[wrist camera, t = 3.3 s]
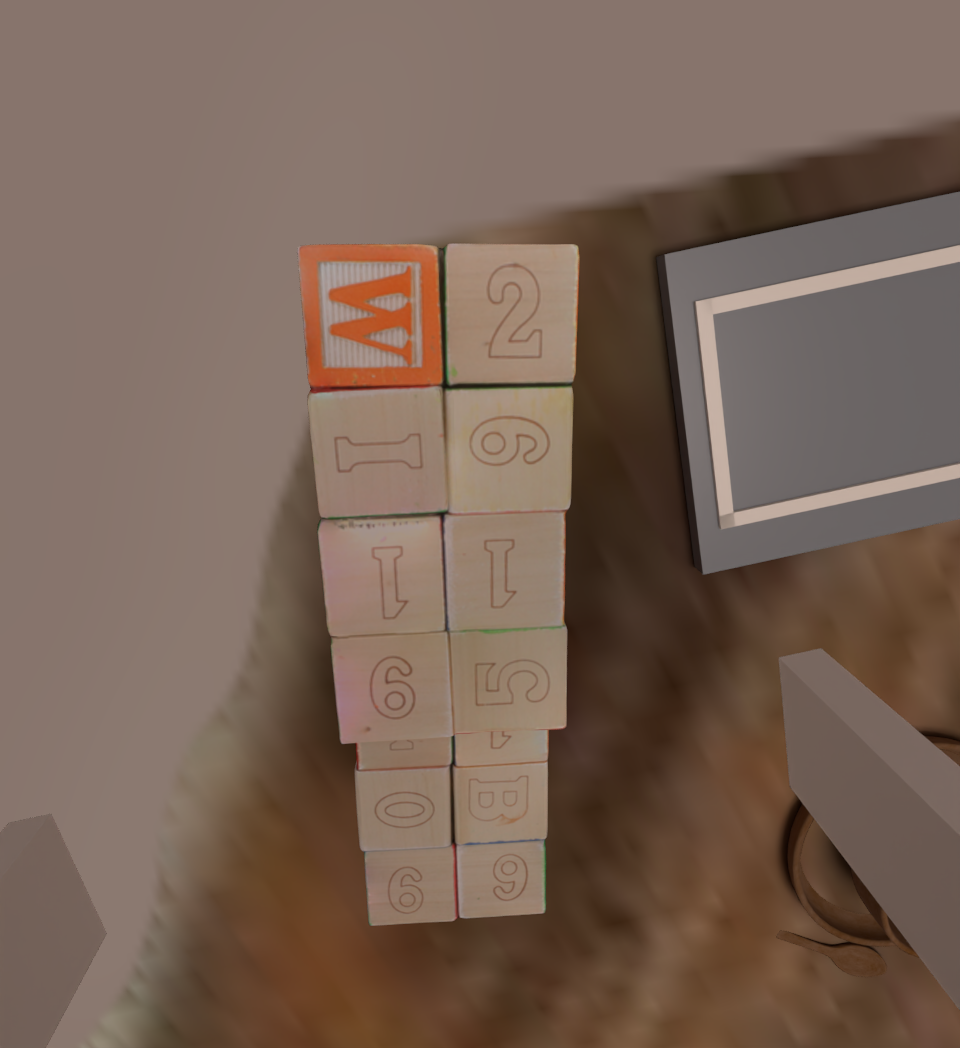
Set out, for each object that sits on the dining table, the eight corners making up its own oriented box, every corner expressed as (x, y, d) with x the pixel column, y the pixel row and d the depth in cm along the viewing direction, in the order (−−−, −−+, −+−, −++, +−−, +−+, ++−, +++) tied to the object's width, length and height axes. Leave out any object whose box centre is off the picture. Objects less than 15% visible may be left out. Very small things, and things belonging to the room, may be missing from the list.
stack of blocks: (515, 758, 33) (562, 1001, 21) (380, 764, 32) (351, 1016, 21) (517, 277, 27) (585, 237, 15) (354, 277, 27) (292, 237, 15)
